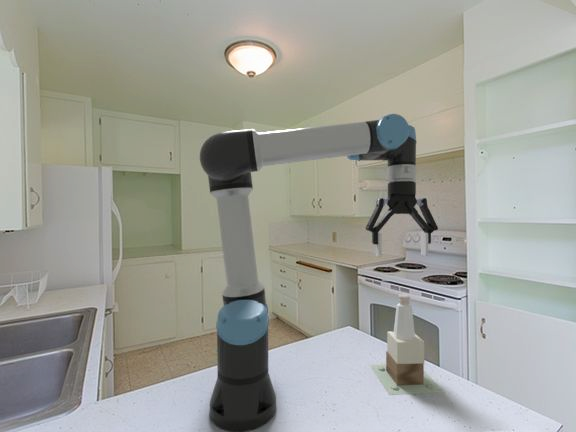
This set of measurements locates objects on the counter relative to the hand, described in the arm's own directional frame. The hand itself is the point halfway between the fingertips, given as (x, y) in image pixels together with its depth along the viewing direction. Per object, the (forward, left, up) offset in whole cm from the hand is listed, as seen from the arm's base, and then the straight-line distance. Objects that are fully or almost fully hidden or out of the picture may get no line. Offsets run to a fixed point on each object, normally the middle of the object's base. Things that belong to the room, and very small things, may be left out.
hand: (401, 255), depth 85 cm
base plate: (-2, -6, -33) cm, 33 cm away
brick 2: (-2, -6, -32) cm, 32 cm away
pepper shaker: (-2, -6, -21) cm, 22 cm away
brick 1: (-2, -6, -26) cm, 27 cm away
